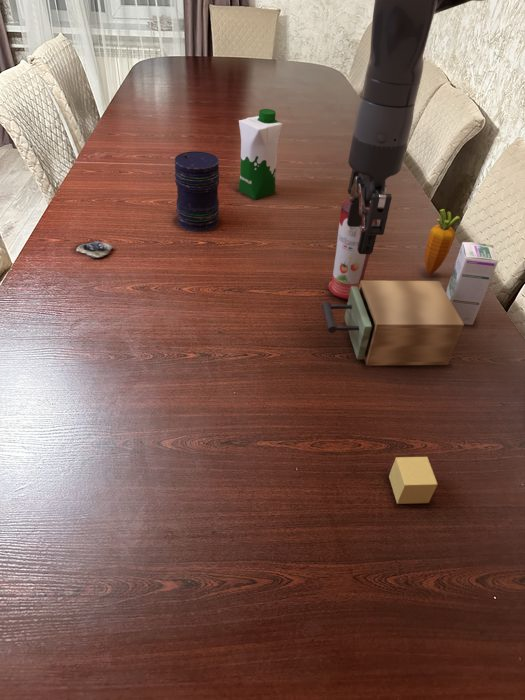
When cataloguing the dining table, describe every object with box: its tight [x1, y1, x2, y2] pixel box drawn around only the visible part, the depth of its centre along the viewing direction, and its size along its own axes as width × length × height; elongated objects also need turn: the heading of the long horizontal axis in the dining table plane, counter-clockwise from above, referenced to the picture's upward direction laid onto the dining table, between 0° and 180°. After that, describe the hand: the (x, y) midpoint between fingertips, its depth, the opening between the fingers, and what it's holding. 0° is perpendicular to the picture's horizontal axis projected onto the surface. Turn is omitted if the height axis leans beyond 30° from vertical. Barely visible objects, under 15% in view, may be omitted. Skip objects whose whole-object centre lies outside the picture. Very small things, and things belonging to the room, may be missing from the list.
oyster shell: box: [76, 240, 114, 259], centre depth 111 cm, size 7×8×2 cm
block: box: [388, 456, 439, 505], centre depth 70 cm, size 4×4×4 cm
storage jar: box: [174, 150, 220, 232], centre depth 119 cm, size 10×10×15 cm
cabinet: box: [359, 279, 465, 366], centre depth 92 cm, size 15×13×9 cm
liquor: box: [328, 197, 375, 301], centre depth 96 cm, size 7×7×28 cm
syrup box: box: [445, 241, 499, 326], centre depth 97 cm, size 6×6×14 cm
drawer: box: [321, 286, 375, 360], centre depth 92 cm, size 19×11×7 cm, turn 94°
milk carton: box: [237, 108, 283, 201], centre depth 132 cm, size 9×9×20 cm
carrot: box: [424, 208, 461, 276], centre depth 108 cm, size 5×5×15 cm
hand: (358, 238), depth 82 cm, fingers open, 8 cm apart
